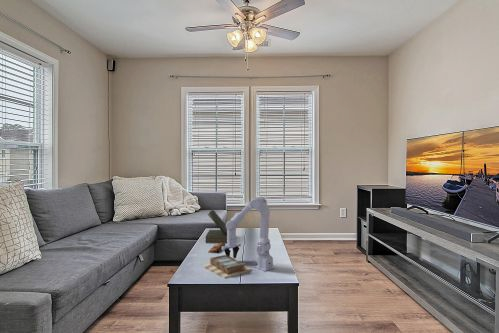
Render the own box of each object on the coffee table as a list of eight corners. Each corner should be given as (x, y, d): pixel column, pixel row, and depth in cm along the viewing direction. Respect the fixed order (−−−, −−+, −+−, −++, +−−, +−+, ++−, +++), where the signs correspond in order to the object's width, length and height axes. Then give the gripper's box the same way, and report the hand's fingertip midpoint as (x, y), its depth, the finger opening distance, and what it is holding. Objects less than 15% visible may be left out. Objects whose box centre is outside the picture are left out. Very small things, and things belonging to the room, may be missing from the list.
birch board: (251, 270, 180) (251, 268, 180) (224, 278, 167) (224, 276, 167) (228, 260, 198) (228, 258, 198) (202, 266, 185) (202, 265, 185)
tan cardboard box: (244, 270, 177) (244, 264, 177) (227, 274, 170) (227, 268, 170) (226, 260, 195) (226, 254, 195) (210, 263, 188) (210, 257, 188)
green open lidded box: (229, 243, 239) (229, 213, 239) (205, 243, 240) (205, 213, 239) (231, 236, 262) (231, 208, 262) (209, 236, 263) (209, 208, 262)
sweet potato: (214, 245, 232) (219, 238, 231) (222, 250, 231) (226, 243, 230) (207, 252, 214) (211, 245, 214) (215, 258, 213) (219, 250, 213)
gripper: (236, 235, 202) (236, 255, 202) (218, 238, 193) (218, 259, 193) (242, 237, 197) (242, 257, 197) (225, 241, 188) (224, 262, 188)
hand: (231, 258), depth 195 cm, fingers open, 5 cm apart
